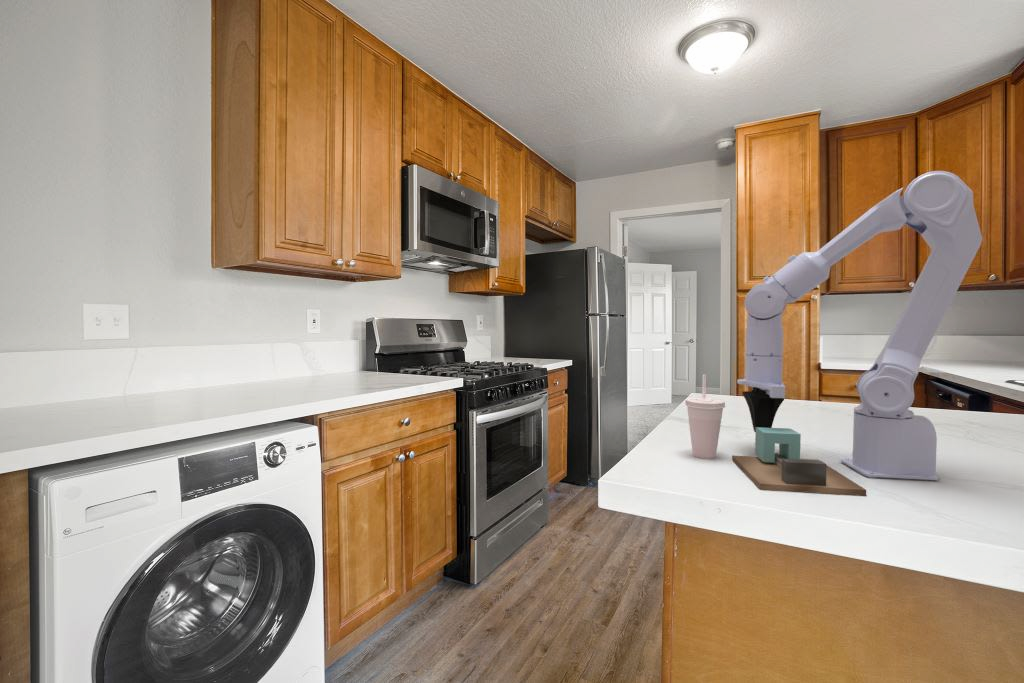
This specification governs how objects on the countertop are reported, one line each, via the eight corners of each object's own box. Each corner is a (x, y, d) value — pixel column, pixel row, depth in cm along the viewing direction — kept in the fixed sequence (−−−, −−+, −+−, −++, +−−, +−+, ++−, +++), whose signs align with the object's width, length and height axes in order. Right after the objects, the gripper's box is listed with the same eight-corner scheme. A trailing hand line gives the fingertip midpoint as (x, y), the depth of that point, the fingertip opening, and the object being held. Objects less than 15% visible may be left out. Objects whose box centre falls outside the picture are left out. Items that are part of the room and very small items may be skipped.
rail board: (818, 464, 75) (818, 441, 75) (866, 495, 62) (866, 467, 62) (732, 460, 78) (732, 437, 78) (759, 489, 64) (760, 462, 64)
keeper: (789, 456, 76) (790, 428, 76) (799, 463, 72) (800, 434, 72) (755, 454, 77) (755, 427, 77) (763, 461, 73) (763, 432, 73)
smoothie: (717, 451, 83) (718, 373, 83) (730, 461, 77) (731, 377, 77) (680, 450, 84) (681, 373, 84) (690, 460, 78) (691, 377, 77)
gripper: (727, 352, 88) (726, 423, 89) (751, 358, 74) (750, 442, 75) (768, 352, 87) (766, 424, 88) (800, 358, 73) (798, 444, 73)
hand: (761, 433), depth 81 cm, fingers closed
